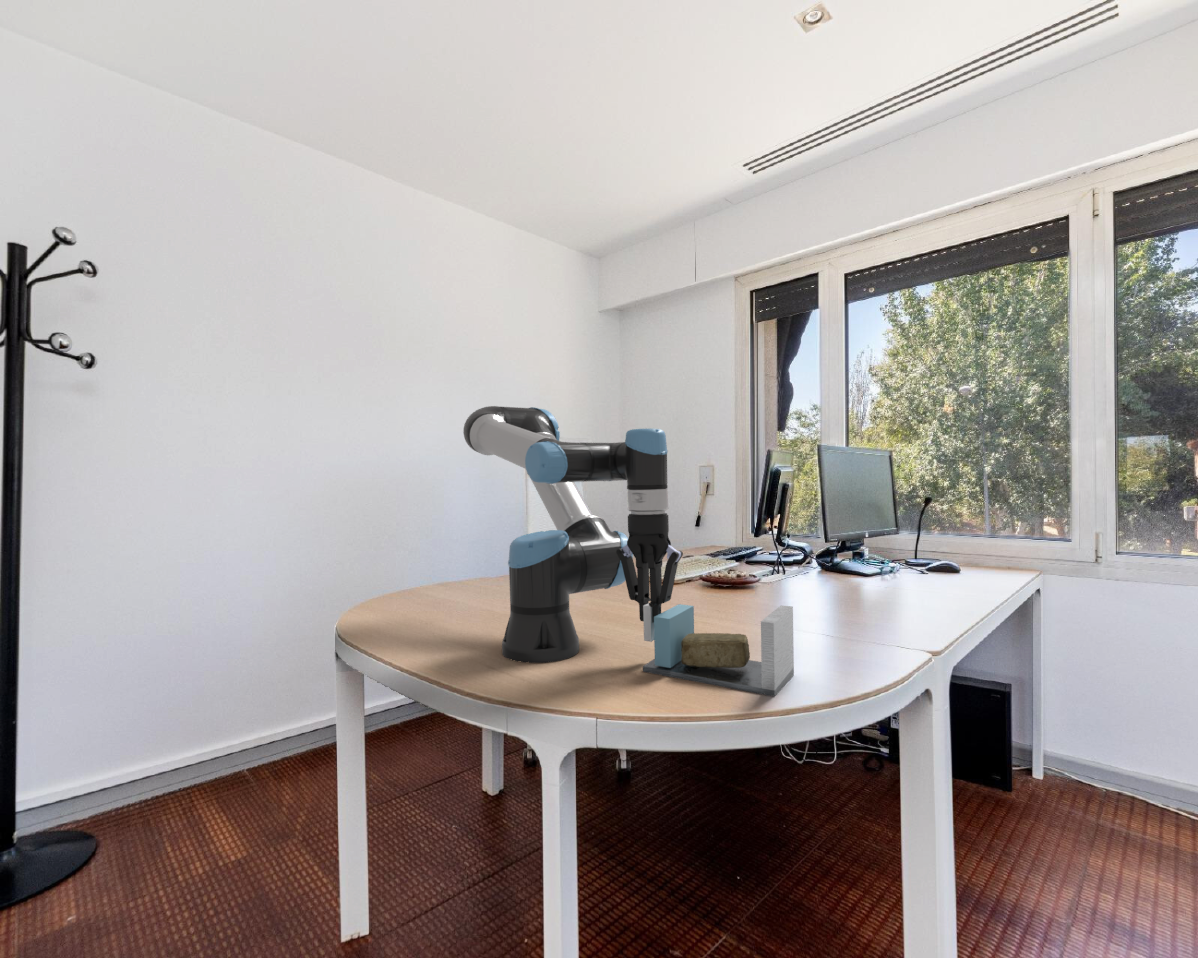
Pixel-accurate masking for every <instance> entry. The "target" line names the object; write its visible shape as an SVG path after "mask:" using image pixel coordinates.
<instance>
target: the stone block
mask: <svg viewBox="0 0 1198 958" xmlns="http://www.w3.org/2000/svg"><path fill="white" fill-rule="evenodd" d="M681 647H682V648H681V651H682V653H681V654H682V658H681V662H682V664H685V665H688V666H695V667H719V668H724V667H725V668H740V667H745V665H746V664H747V662H748V661H749V660H750V658H751V657H750V656H751V652H750V645H749V640H748V636H747V635H746V634H742V633H727V632H726V633H721V632H720V633H719V632H716V633H715V632H714V633H713V632H711V633H710V632H708V633H707V632H706V633H702V632H700V633H699V632H697V633H695V632H694V633H691V634H688V635H686V636H685V637H684V638H683V639H682V642H681Z"/></svg>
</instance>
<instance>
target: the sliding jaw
mask: <svg viewBox="0 0 1198 958" xmlns="http://www.w3.org/2000/svg"><path fill="white" fill-rule="evenodd" d="M691 633H695V606H694V605H688V604H683V603H682V604H681V603H680V604H676V605H675V606H673V607H670V608H668V609H666V610H665V611H662V612H661V614H659V615H657V616H655V617H654V640H653V641H654V644H653V646H654V659H655V665H657V666H662V667H668V668H671V667H673V666H674V665H675V664H677V663H678V662H680V661H681V658H682V654H681V653H682V651H681V648H682V647H681V642H682V639H683V638H684V637H685V636H686V635H688V634H691Z"/></svg>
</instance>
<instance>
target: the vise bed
mask: <svg viewBox="0 0 1198 958" xmlns="http://www.w3.org/2000/svg"><path fill="white" fill-rule="evenodd" d="M760 647H761V648H760V649H761V650H760V652H761V653H760V654H761V655H760V656H761V658H760V659H761V661H757V660H751V659H749V661H748V662H747V664H746V665H745V667H740V668H725V667H724V668H719V667H695V666H688V665H685V664H682V662H681V661H680V662H678V663H677V664H675V665H674V666H673V667H671V668H668V667H662V666H657V665H655V658H654V659H651V660H650V661H649V662H648V663H645V664H644V665H642V672H644V673H647V674H652V675H658V676H663V677H664V676H665V677H669V678H674V679H680V680H685V681H691V682H694V683H702V684H706V685H711V686H717V687H721V688H722V687H723V688H726V689H732V690H738V691H743V692H748V693H754V694H760V695H765V696H770V697H776V696H777V695H778V694H779V693H780V692H781V690H782V689H783V688H784V687H785V686H786V685H787V684H788V682H789V681H790V680H791V679H792V678H793V677H794V676H795V675H794V674H795V672H794V671H795V669H794V667H795V665H794V664H795V662H794V660H795V659H794V658H795V657H794V606H789V605H780V606H778V607H777V608H776V609H774V610H773V611H772V612H771V613H770V614H768V615H767V616H765V617H764V618H763V619H762V620H761V621H760Z"/></svg>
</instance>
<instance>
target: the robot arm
mask: <svg viewBox="0 0 1198 958" xmlns="http://www.w3.org/2000/svg"><path fill="white" fill-rule="evenodd" d="M463 424H464V426H463V431H462V432H463V437H464V440H465V443H466V444H467V445H468V446H469V448H470V449H471V450H473V451H474V452H475V453H479V454H481V455H484V456H496V457H498V458H501V459H503V460H505V461H508V462H510V463H511V464H514V465H516V466H519V467H521V468H523V469H525V471H526V473H527V475H528V477H529V478H530V480H531V482H532V485H533V486H534V488H535V490H536V492H537V494H538V496H539V499H541V501H542V503H543V505H544V507H545V510H546V511H547V514H549V515H548V516H549V517H550V519H551V520H552V522H553V524H554V526H555V528H556V529H550V530H546V531H543V530H541V531H536V532H531V533H530V532H529V533H526V534H524V535H520V536H518V537H516V538H515V539H513V540H512V541H511V543H510V545H509V549H508V550H509V552H508V561H507V565H508V573H509V575H508V576H509V603H510V604H509V605H510V607H509V608H510V612H509V617H508V620H507V621H508V622H507V625H506V628H505V632H504V636H503V639H502V643H501V648H502V649H501V652H502V653H501V654H502V656H503V657H504V658H505V659H507V660H510V659H512V660H511V661H513V660H515V661H514V662H518V661H521V662H520V663H526V662H529V664H546V663H556V662H560V661H565V660H567V659H570V658H572V657H573V656H576V655H577V654H578V653H579V651H580V639H579V635H578V634H577V630H576V626H575V624H574V621H573V618H572V614H571V612H570V595H572V594H578V593H585V592H591V591H596V590H602V589H604V590H608V589H610V588H613V587H618V586H620V585H622V584H623V583H625V584H626V588H627V592H628V597H629V599H630V600H631V601H635V602H637V603H638V605H639V606H638V609H639V611H638V612H639V620H640V622H643V641H644V642H650V643H652V642H653V641H654V617H655V616H657V615H659V614H661V613H662V604H665V603H667V602H669V601H671V599H672V594H673V590H674V585H675V579H676V574H677V570H678V565H679V562H680V560H681V559H682V557H683V555H684V553H683V551H682V550H677V549H676V548H675V547H674V546H672V543H671V540H670V538H669V531H670V529H669V527H670V526H669V515H668V513H666V511H667V510H668V509H669V496H668V493H669V492H668V452H669V450H668V445H667V435H666V433H665V431H664V430H663V429H661V428H650V427H649V428H635V429H634V428H632V429H629V430H627V431H626V433H625V440H624V441H622V442H621V441H618V442H571V441H570V442H568V441H567V442H566V441H560V436H561V433H560V432H561V431H560V430H559V423H558V421H557V419H556V418H555V415H554V414H552V412H550V411H549V410H547V409H544V408H538V407H536V406H535V407H514V406H513V407H512V406H498V405H490V406H489V405H488V406H484V407H481V408H478V409H476V410H475V411H473V412H472V413H471V414H469V416H468V417H467V419H466V420H465V422H464V423H463ZM616 481H626V491H627V493H626V497H627V500H626V501H627V511H629V512H630V513H629V514H628V515H627V532H628V536H627V535H626V534H625V533H624V532H621V531H619V530H614V531H612V530H611V529H610V528H609V526H608V525H607V523H606V521H605V519H603V518H602V517H601V516H597V515H594V514H593V512H592V511H591V509H590V508H589V506H588V504H587V501H586V500H585V499H584V496H583V495H582V493H581V491H580V490H579V488H578V487H577V485H576V483H579V482H581V483H583V482H616ZM633 557H634V558H635V563H634V558H633ZM664 557H666V558H667V561H666V563H665V567H664V568H665V569H664V573H663V576H662V567H663V559H664ZM635 567H636V568H635ZM662 577H663V579H662Z"/></svg>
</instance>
